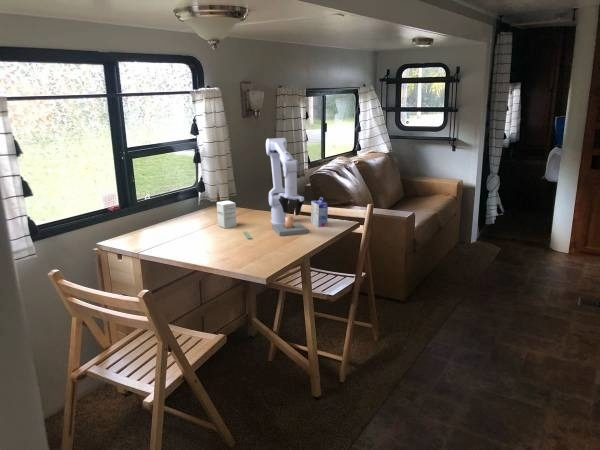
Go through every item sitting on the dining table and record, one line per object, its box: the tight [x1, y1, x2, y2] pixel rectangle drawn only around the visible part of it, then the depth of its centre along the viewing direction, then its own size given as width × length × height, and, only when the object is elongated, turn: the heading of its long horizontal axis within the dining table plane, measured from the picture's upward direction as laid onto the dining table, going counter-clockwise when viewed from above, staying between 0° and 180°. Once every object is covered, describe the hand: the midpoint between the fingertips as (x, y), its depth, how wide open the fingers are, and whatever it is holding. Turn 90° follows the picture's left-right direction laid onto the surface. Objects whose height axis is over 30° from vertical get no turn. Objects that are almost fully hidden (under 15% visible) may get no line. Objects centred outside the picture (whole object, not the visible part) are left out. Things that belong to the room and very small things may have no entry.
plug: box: [285, 215, 294, 229], centre depth 241 cm, size 4×4×7 cm
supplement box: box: [216, 200, 237, 229], centre depth 253 cm, size 7×7×13 cm
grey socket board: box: [271, 221, 309, 237], centre depth 242 cm, size 14×14×2 cm
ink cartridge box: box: [310, 196, 329, 228], centre depth 251 cm, size 10×6×14 cm, turn 22°
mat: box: [242, 230, 253, 240], centre depth 238 cm, size 12×12×1 cm
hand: (291, 213), depth 236 cm, fingers open, 7 cm apart
